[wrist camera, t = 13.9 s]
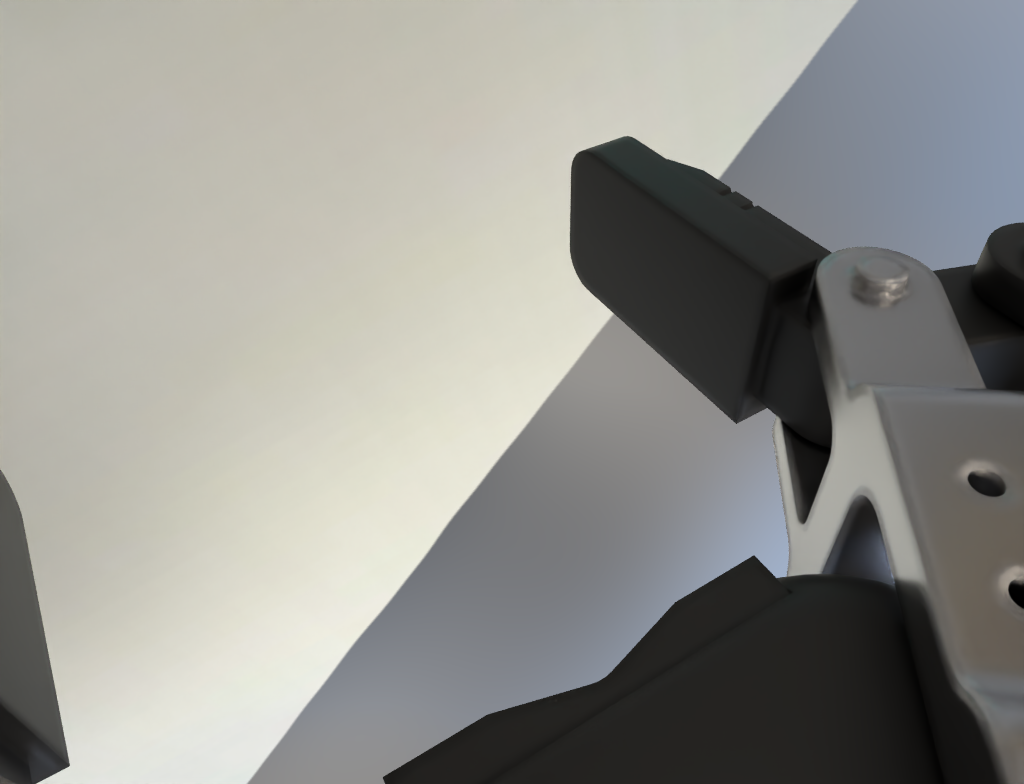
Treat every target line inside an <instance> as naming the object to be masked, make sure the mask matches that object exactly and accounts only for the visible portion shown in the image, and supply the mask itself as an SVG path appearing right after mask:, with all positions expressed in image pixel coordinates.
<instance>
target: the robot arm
mask: <svg viewBox="0 0 1024 784" xmlns="http://www.w3.org/2000/svg"><path fill="white" fill-rule="evenodd" d="M570 253H571V259H572V263H573V266H574V269H575V271H576V273H577V275H578V277H579V279H580V281H581V282H582V284H583V285H584V286H585V287H586V288H587V289H588V290H589V291H590V292H591V293H592V294H593V295H594V296H595V297H596V298H597V299H599V300H600V301H601V302H602V303H603V304H604V305H605V306H606V307H607V308H609V309H610V310H611V311H612V312H613V313H614V314H615V315H616V316H617V317H619V318H620V319H621V320H622V321H623V322H624V323H625V324H626V325H627V326H629V327H630V328H631V329H632V330H633V331H634V332H635V333H636V334H637V335H638V336H640V337H641V338H642V339H643V340H644V341H645V342H646V343H647V344H648V345H650V346H651V347H652V348H653V349H654V350H655V351H656V352H657V353H658V354H660V355H661V356H662V357H663V358H664V359H665V360H666V361H667V362H668V363H669V364H671V365H672V366H673V367H674V368H675V369H676V370H677V371H678V372H679V373H681V374H682V375H683V376H684V377H685V378H686V379H687V380H688V381H689V382H691V383H692V384H693V385H694V386H695V387H696V388H697V389H698V390H699V391H701V392H702V393H703V394H704V395H705V396H706V397H707V398H708V399H709V400H710V401H712V402H713V403H714V404H715V405H716V406H717V407H718V408H719V409H720V410H721V411H723V412H724V413H725V414H726V415H727V416H728V417H729V418H730V419H731V420H733V421H734V422H735V423H736V424H737V423H739V422H741V421H743V420H745V419H747V418H748V417H750V416H752V415H754V414H756V413H758V412H760V411H762V410H764V409H766V408H768V409H770V410H771V411H772V412H773V413H774V414H776V418H775V422H774V425H773V430H772V435H773V442H774V449H775V456H776V462H777V469H778V475H779V482H780V489H781V495H782V501H783V508H784V515H785V521H786V528H787V534H788V543H789V563H788V571H787V577H781V578H775V576H774V575H773V574H772V573H771V572H770V571H769V570H768V569H767V568H766V567H765V566H764V565H763V564H762V563H761V562H760V561H759V560H758V559H757V558H756V557H755V556H752V557H751V558H749V559H747V560H745V561H744V562H742V563H740V564H739V565H737V566H736V567H734V568H732V569H730V570H729V571H727V572H725V573H724V574H722V575H720V576H719V577H717V578H715V579H714V580H712V581H710V582H709V583H707V584H705V585H704V586H702V587H700V588H699V589H697V590H695V591H694V592H692V593H691V594H689V595H687V596H685V597H684V598H682V599H680V600H678V601H677V602H675V603H674V605H672V606H671V608H670V609H669V610H668V611H667V612H666V613H665V614H664V615H663V616H662V618H660V620H659V621H658V622H657V623H656V624H655V625H654V626H653V627H652V628H651V629H650V630H649V632H648V633H647V634H646V635H645V636H644V637H643V638H642V639H641V640H640V642H638V644H637V645H636V646H635V647H634V648H633V649H632V650H631V651H630V652H629V653H628V654H627V656H626V657H625V658H624V659H623V660H622V661H621V662H620V663H619V664H618V665H617V666H616V667H615V669H614V670H613V671H612V672H611V673H610V674H609V675H608V676H606V677H605V678H603V679H602V680H600V681H598V682H596V683H593V684H590V685H587V686H583V687H580V688H577V689H573V690H570V691H566V692H563V693H560V694H556V695H553V696H549V697H546V698H543V699H540V700H536V701H532V702H529V703H526V704H522V705H519V706H515V707H512V708H508V709H505V710H502V711H498V712H495V713H492V714H488V715H486V716H485V717H483V718H481V719H480V720H478V721H476V722H475V723H473V724H471V725H469V726H468V727H466V728H464V729H463V730H461V731H459V732H458V733H456V734H454V735H453V736H451V737H449V738H448V739H446V740H444V741H443V742H441V743H439V744H438V745H436V746H434V747H433V748H431V749H429V750H428V751H426V752H424V753H423V754H421V755H419V756H417V757H416V758H414V759H412V760H411V761H409V762H407V763H406V764H404V765H402V766H401V767H399V768H397V769H396V770H394V771H392V772H391V773H389V774H388V775H386V776H384V777H383V779H384V782H385V784H1024V223H1014V224H1009V225H1006V226H1002V227H1000V228H998V229H997V230H995V231H994V232H993V233H991V235H990V236H989V238H988V240H987V242H986V245H985V247H984V249H983V251H982V253H981V256H980V258H979V260H978V263H977V264H975V265H969V266H963V267H956V268H949V269H942V270H936V271H932V270H930V269H929V268H928V267H927V266H926V265H924V264H923V263H921V262H920V261H918V260H916V259H914V258H912V257H910V256H908V255H905V254H902V253H900V252H896V251H892V250H889V249H883V248H877V247H852V248H846V249H842V250H839V251H836V252H834V253H831V252H830V251H828V250H827V249H825V248H823V247H822V246H820V245H819V244H817V243H816V242H814V241H812V240H811V239H809V238H808V237H806V236H805V235H803V234H802V233H800V232H799V231H797V230H795V229H794V228H792V227H791V226H789V225H787V224H786V223H784V222H783V221H781V220H780V219H778V218H777V217H775V216H773V215H772V214H771V213H769V212H767V211H766V210H764V209H762V208H761V207H760V206H756V207H754V206H753V204H752V201H750V200H749V199H747V198H745V197H744V196H742V195H741V194H739V193H737V192H733V193H732V192H731V189H730V187H728V186H727V185H725V184H724V183H722V182H721V181H719V180H717V179H716V178H714V177H713V176H711V175H710V174H708V173H707V172H705V171H703V170H700V169H697V168H694V167H691V166H688V165H684V164H681V163H678V162H675V161H672V160H669V159H665V158H664V157H662V156H661V155H659V154H658V153H656V152H655V151H653V150H652V149H650V148H648V147H647V146H645V145H644V144H642V143H641V142H639V141H638V140H636V139H634V138H632V137H629V136H624V137H621V138H618V139H615V140H613V141H610V142H607V143H604V144H601V145H598V146H595V147H592V148H589V149H586V150H583V151H581V152H579V153H577V154H576V156H575V157H574V160H573V162H572V167H571V212H570ZM69 766H70V764H69V759H68V753H67V748H66V743H65V738H64V732H63V727H62V722H61V717H60V712H59V706H58V701H57V696H56V691H55V685H54V680H53V675H52V670H51V665H50V659H49V654H48V649H47V644H46V638H45V633H44V628H43V623H42V618H41V612H40V607H39V602H38V597H37V591H36V586H35V581H34V576H33V571H32V565H31V560H30V555H29V550H28V544H27V539H26V534H25V529H24V524H23V519H22V515H21V511H20V508H19V505H18V503H17V500H16V498H15V495H14V493H13V491H12V489H11V487H10V485H9V483H8V481H7V480H6V478H5V476H4V474H3V473H2V471H1V470H0V784H36V783H38V782H40V781H42V780H44V779H46V778H48V777H50V776H52V775H53V774H55V773H57V772H59V771H61V770H63V769H65V768H67V767H69Z"/></svg>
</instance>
